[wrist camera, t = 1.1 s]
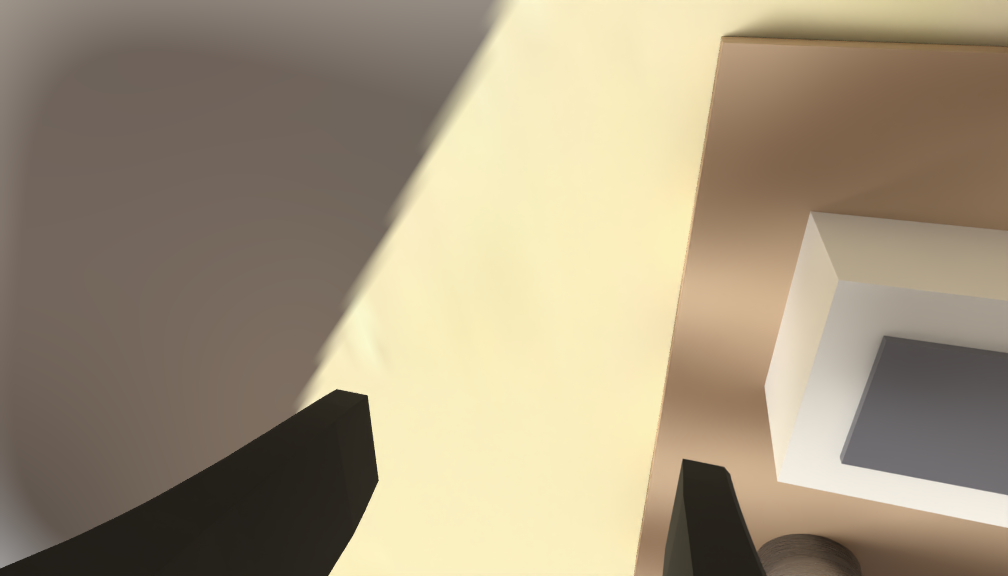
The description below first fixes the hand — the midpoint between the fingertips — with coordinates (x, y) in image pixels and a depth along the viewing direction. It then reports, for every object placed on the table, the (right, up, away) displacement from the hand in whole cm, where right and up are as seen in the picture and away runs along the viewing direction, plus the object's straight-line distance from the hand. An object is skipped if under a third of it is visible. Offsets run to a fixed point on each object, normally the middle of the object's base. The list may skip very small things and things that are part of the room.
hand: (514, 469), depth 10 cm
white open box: (+10, +2, +4) cm, 11 cm away
